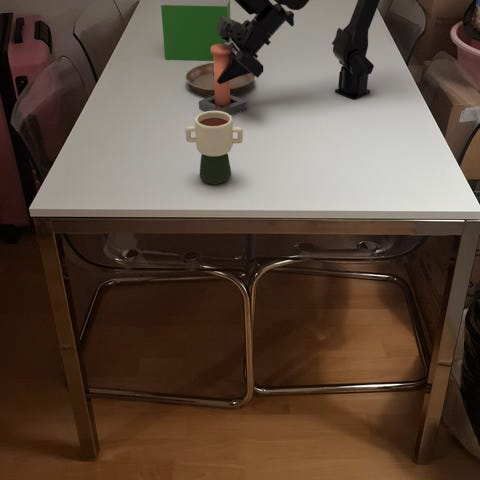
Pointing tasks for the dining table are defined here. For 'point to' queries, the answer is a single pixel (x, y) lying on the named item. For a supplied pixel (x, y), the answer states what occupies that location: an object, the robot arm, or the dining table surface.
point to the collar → (231, 109)
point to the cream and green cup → (214, 144)
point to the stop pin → (220, 64)
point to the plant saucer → (204, 80)
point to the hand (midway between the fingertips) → (216, 79)
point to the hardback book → (192, 28)
